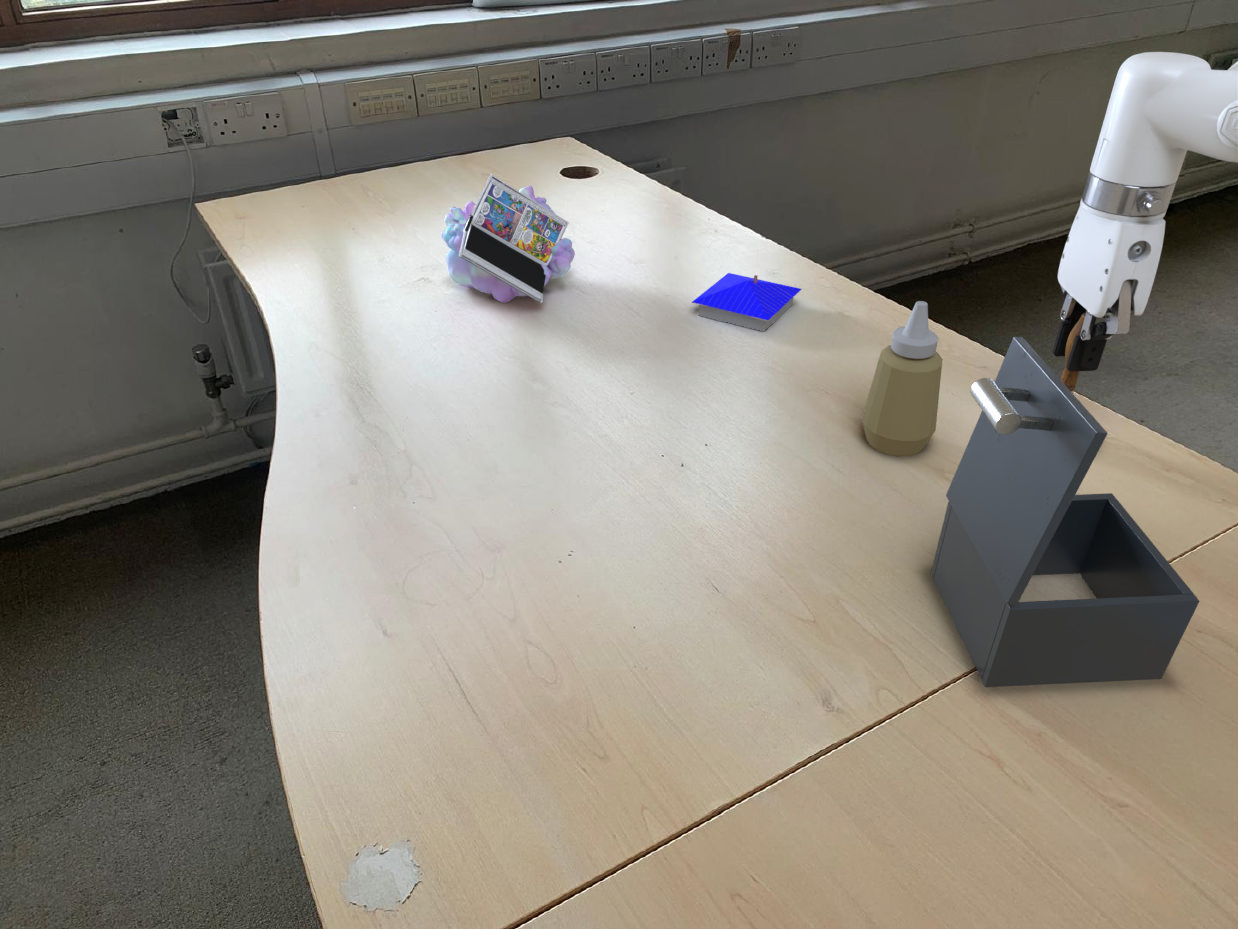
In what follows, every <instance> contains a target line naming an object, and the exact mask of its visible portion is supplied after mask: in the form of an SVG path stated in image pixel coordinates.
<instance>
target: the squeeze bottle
mask: <svg viewBox="0 0 1238 929" xmlns="http://www.w3.org/2000/svg"><path fill="white" fill-rule="evenodd" d="M929 328H930V326H929V305H928V303H927V302H926V301H923V300H918V301H916V302H915V303H914V306H913V308H912V310H911V313H910V314H909V317H908V319H907V322H906V324H905V325H904V326H899V327H897V328H896V329H894V330H893V332H892V335H891V336H892V337H891V343H890V344H889V345H886V346H885V347H884V348H883V349H882V350H880V354H879V357H878V361H877V364H876V368H875V371H874V375H873V378H872V382H871V385H870V388H869V392H868V396H867V398H866V402H865V406H864V409H863V412H862V417H861V421H862V426H863V430H864V435H865V439H866V441H867V443H868V445H869V446H870V447H871V448H873V449H875V451H877V452H879V453H881V454H884V455H886V456H887V455H888V456H893V457H911V456H913V455H916V454H917V455H918V454H919V453H921V451H922V450H924V448H925V447H926V445H927V444H928V442H929V441H930V439H931V438H932V437H933V435H934V433H935V432H936V431H937V430H936V429H937V420H938V419H937V418H938V410H939V400H940V388H941V379H942V368H943V358H942V356H941V355H940V354H939V352H937V346H938V343H939V336H938V335H937V334H936V333H935V331H932V330H931V329H929Z"/></svg>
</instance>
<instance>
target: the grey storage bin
mask: <svg viewBox="0 0 1238 929" xmlns="http://www.w3.org/2000/svg"><path fill="white" fill-rule="evenodd" d="M1073 574H1074V575H1075V574H1080V576H1081V577H1082V579H1083V581H1084V582H1085V583H1086V585H1087V586H1088V588H1089V589H1090V591H1091V592H1092V594H1093V595H1094V597H1095V598H1078V599H1058V600H1056V599H1055V600H1033V601H1019V602H1018V603H1017V605H1009V604H1007V603H1006V601H1005V599H1004V598H1003V596H1002V594H1001V592H1000V591H999V589H998V587H997V585H996V583H995V582H994V580H993V578H992V576H991V575H990V573H989V571H988V569H987V567H986V566H985V564H984V562H983V560H982V559H981V557H980V555H979V553H978V552H977V550H976V548H975V546H974V544H973V543H972V541H971V539H970V537H969V536H968V534H967V532H966V530H965V528H964V527H963V525H962V523H961V521H960V520H959V518H958V516H957V514H956V512H955V511H954V509H953V507H952V505H951V504H950V502H949V501H948V502H947V506H946V510H945V513H944V518H943V522H942V526H941V531H940V534H939V539H938V543H937V546H936V551H935V554H934V558H933V563H932V567H931V570H930V576H931V578H932V581H933V583H934V584H935V587H936V589H937V590H938V593H939V595H940V596H941V599H942V601H943V603H944V606H945V607H946V609H947V611H948V613H949V615H950V616H949V617H950V618H951V619H952V620H951V621H952V622H953V624H954V626H955V628H956V630H957V632H958V634H959V636H960V638H961V640H962V642H963V645H964V647H965V649H966V650H967V653H968V655H969V657H970V658H971V662H972V663H973V665H974V667H975V669H976V671H977V673H978V675H979V677H980V679H981V682H982V684H983V685H984V687H985V688H998V687H1000V688H1002V687H1019V686H1021V687H1022V686H1023V687H1024V686H1043V685H1064V684H1066V685H1067V684H1084V683H1087V684H1089V683H1106V682H1107V683H1108V682H1109V683H1110V682H1128V681H1149V680H1151V681H1152V680H1162V679H1163V676H1165V675H1164V674H1165V673H1166V671H1167V668H1168V666H1169V664H1170V663H1171V660H1172V659H1173V656H1174V654H1175V652H1176V651H1177V649H1178V646H1179V644H1180V642H1181V640H1182V638H1183V636H1184V634H1185V632H1186V630H1187V627H1188V626H1189V624H1190V622H1191V620H1192V618H1193V616H1194V613H1195V612H1196V610H1197V608H1198V606H1199V603H1200V599H1199V598H1198V597H1197V596H1196V595H1195V594H1194V592H1193V591H1192V590H1191V588H1190V587H1189V585H1187V583H1186V582H1185V581H1184V579H1183V578H1182V577H1181V576H1180V575H1179V573H1178V572H1177V571H1176V569H1174V567H1173V566H1172V565H1171V563H1170V562H1169V561H1168V559H1166V558H1165V556H1164V555H1163V554H1162V553H1161V551H1160V550H1159V549H1158V548H1157V547H1156V545H1155V544H1154V543H1153V542H1152V540H1151V539H1150V537H1148V535H1147V534H1146V533H1145V532H1144V530H1143V529H1142V528H1141V527H1140V525H1138V523H1137V522H1136V521H1135V520H1134V518H1133V517H1132V516H1131V514H1129V512H1128V511H1127V509H1126V508H1125V507H1124V506H1123V505H1122V503H1121V502H1120V501H1119V500H1118V499H1117V497H1116V496H1115V494H1113V493H1111V492H1109V493H1085V494H1084V493H1083V494H1075V496H1074V498H1073V500H1072V502H1071V504H1070V506H1069V507H1068V509H1067V511H1066V513H1065V515H1064V517H1063V519H1062V521H1061V523H1060V524H1059V526H1058V528H1057V530H1056V532H1055V534H1054V536H1053V538H1052V539H1051V541H1050V543H1049V545H1048V547H1047V549H1046V551H1045V553H1044V555H1043V556H1042V558H1041V560H1040V562H1039V564H1038V566H1037V568H1036V570H1035V571H1034V573H1033V575H1032V576H1049V575H1050V576H1052V575H1053V576H1054V575H1073Z"/></svg>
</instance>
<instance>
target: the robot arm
mask: <svg viewBox="0 0 1238 929" xmlns="http://www.w3.org/2000/svg"><path fill="white" fill-rule="evenodd" d="M1188 151H1190V152H1193V153H1197V154H1200V155H1203V156H1206V157H1209V158H1212V159H1216V160H1220V161H1223V162H1230V163H1236V164H1237V163H1238V60H1237V61H1236V62H1235V63H1234V64H1232V65H1231V66H1230V67H1229V68H1228V69H1227V70H1226V69H1212V68H1211V65H1210V64H1209V62H1208V61H1206V60H1205V59H1203V58H1201V57H1199V56H1197V55H1192V54H1187V53H1181V52H1172V51H1171V52H1169V51H1148V52H1147V51H1146V52H1141V53H1137V54H1133V55H1131V56H1129V57H1128V58H1126V60H1124V61H1123V63H1121V65H1120V67H1119V69H1118V71H1117V74H1116V77H1115V80H1114V84H1113V87H1112V90H1111V94H1110V98H1109V100H1108V104H1107V108H1106V111H1105V115H1104V118H1103V122H1102V125H1101V128H1100V132H1099V136H1098V140H1097V144H1096V146H1095V151H1094V154H1093V156H1092V160H1091V164H1090V168H1089V171H1088V173H1087V174H1088V175H1087V178H1086V182H1085V185H1084V189H1083V192H1082V195H1081V199H1080V203H1079V207H1078V210H1077V213H1076V215H1075V217H1074V220H1073V222H1072V225H1071V228H1070V231H1069V233H1068V235H1067V239H1066V242H1065V244H1064V248H1063V251H1062V254H1061V258H1060V261H1059V267H1058V270H1057V281H1058V283H1059V286H1060V289H1061V291H1062V299H1063V300H1062V302H1063V305H1062V308H1061V311H1060V315H1059V316H1060V320H1062V321H1061V322H1060V324H1059V327H1058V331H1057V335H1056V338H1055V341H1054V344H1053V348H1052V354H1053V356H1055V357H1057V358H1058V357H1065V349H1066V344H1067V340H1068V337H1069V334H1070V332H1071V331H1072V329H1073V328H1074V326H1075V325H1076V324H1077V322H1078V321H1079V320H1080V318H1081V316H1082V314H1083V313H1086V315H1085V319H1084V322H1083V326H1082V330H1081V334H1080V336H1075V339H1074V343H1073V346H1072V349H1071V352H1070V356H1069V359H1068V362H1067V365H1066V368H1067V369H1068V370H1069V371H1070V372H1075V371H1079V372H1094V371H1097V370H1098V368H1099V366H1100V362H1101V360H1102V357H1103V353H1104V351H1105V348H1106V345H1107V342H1108V340H1111V339H1112V337H1113V336H1114V335H1127V334H1129V332H1130V327H1131V326H1130V325H1131V316H1132V317H1135V318H1136V317H1141V316H1142V315H1143V313H1144V312H1145V309H1146V307H1147V304H1148V302H1149V299H1150V296H1151V292H1152V289H1153V286H1154V282H1155V278H1156V275H1157V271H1158V269H1159V268H1158V267H1159V265H1160V260H1161V255H1162V251H1163V245H1164V239H1165V232H1166V220H1165V219H1164V217H1165V215H1166V213H1167V210H1168V208H1169V205H1170V202H1171V199H1172V197H1173V193H1174V191H1175V187H1176V183H1177V181H1178V178H1179V175H1180V172H1181V169H1182V167H1183V164H1184V161H1185V158H1186V156H1187V154H1188V153H1187V152H1188ZM1097 319H1104V321H1098V322H1097ZM1096 322H1097V323H1096Z"/></svg>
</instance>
